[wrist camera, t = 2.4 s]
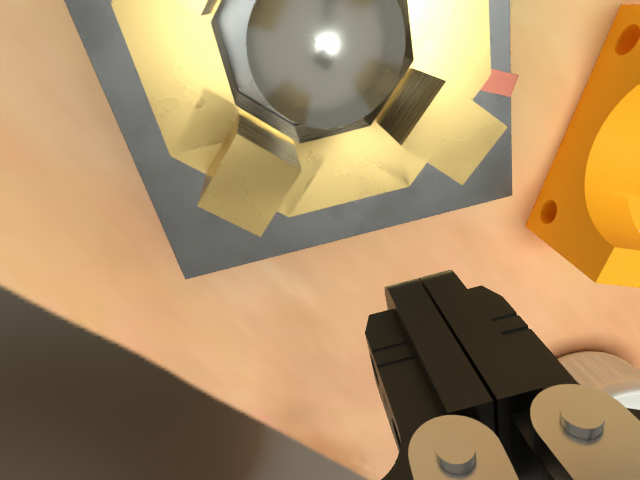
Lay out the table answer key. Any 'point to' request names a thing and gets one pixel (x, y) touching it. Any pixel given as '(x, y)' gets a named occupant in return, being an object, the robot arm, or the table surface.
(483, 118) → the ring nut
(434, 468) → the robot arm
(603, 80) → the pipe clamp
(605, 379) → the ramekin
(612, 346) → the table surface
